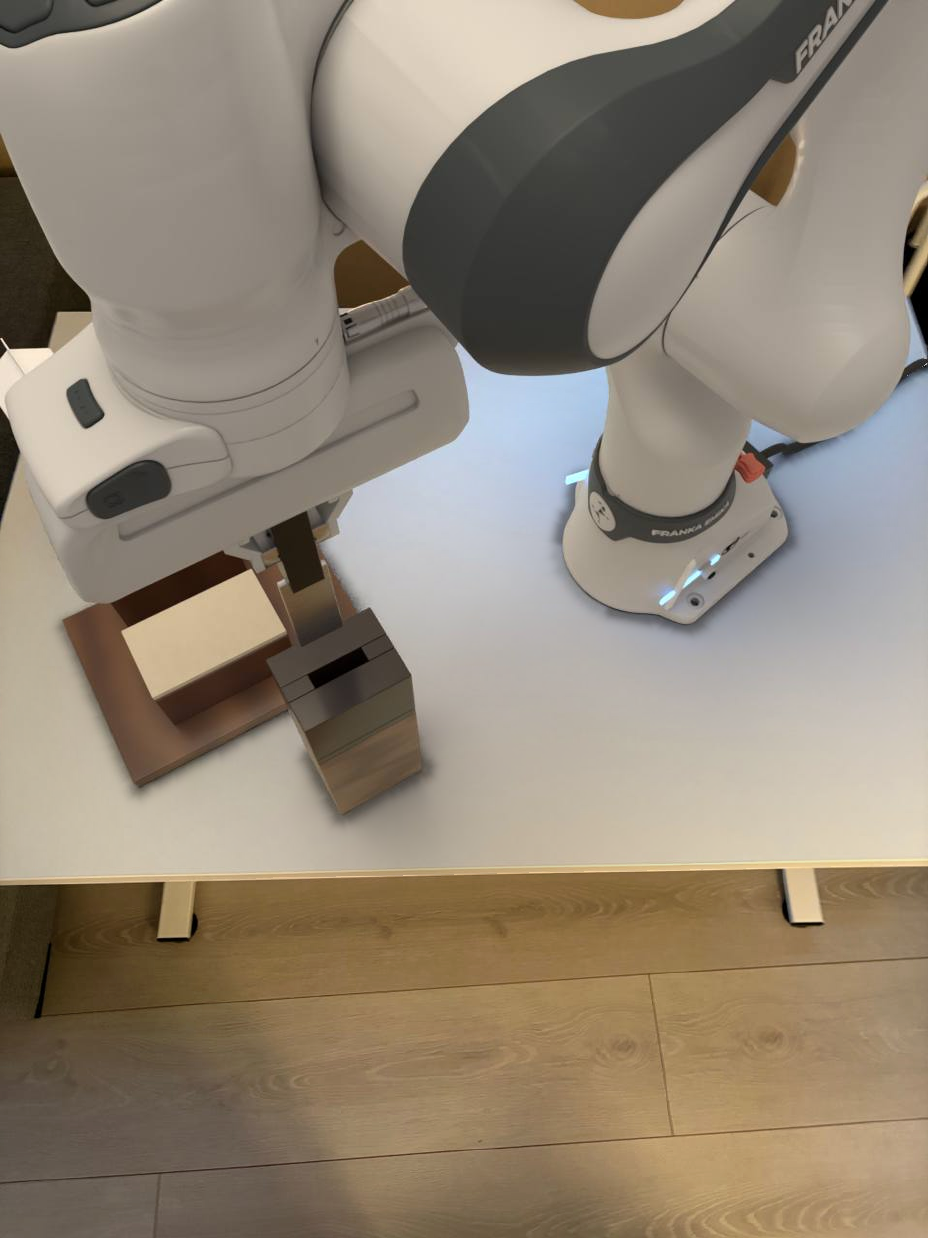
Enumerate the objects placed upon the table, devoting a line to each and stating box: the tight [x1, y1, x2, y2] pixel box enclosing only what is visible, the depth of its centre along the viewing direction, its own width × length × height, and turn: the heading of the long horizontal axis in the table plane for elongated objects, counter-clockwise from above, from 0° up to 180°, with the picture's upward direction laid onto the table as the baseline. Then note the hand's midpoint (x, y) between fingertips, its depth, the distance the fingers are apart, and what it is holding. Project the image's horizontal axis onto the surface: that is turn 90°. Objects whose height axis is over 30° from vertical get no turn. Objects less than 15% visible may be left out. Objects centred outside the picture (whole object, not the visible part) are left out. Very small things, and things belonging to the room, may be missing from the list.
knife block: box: [266, 606, 423, 816], centre depth 71 cm, size 8×6×21 cm
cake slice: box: [111, 550, 247, 627], centre depth 84 cm, size 12×4×6 cm, turn 120°
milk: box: [0, 337, 55, 420], centre depth 82 cm, size 6×6×22 cm
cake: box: [121, 569, 292, 725], centre depth 80 cm, size 12×7×7 cm, turn 120°
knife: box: [266, 511, 343, 647], centre depth 52 cm, size 3×2×16 cm, turn 120°
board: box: [61, 544, 359, 788], centre depth 85 cm, size 24×18×2 cm
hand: (292, 544), depth 49 cm, fingers closed on knife, 2 cm apart
